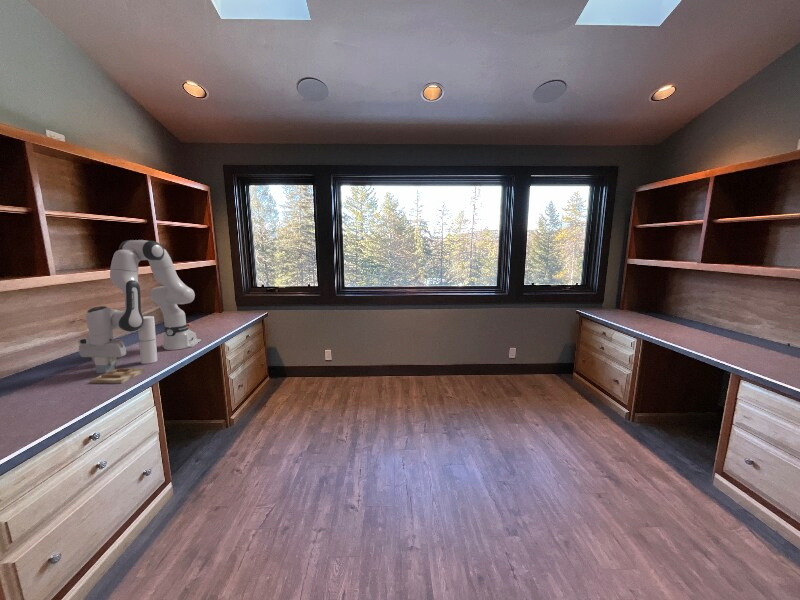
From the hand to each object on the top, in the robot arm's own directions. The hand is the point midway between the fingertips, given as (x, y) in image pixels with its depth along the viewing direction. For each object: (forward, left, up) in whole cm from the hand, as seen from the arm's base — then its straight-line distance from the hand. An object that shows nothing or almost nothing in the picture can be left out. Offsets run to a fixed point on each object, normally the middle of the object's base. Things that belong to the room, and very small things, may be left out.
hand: (105, 365), depth 159 cm
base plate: (+8, +13, -3) cm, 16 cm away
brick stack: (0, 0, -3) cm, 3 cm away
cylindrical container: (-13, +12, -3) cm, 18 cm away
